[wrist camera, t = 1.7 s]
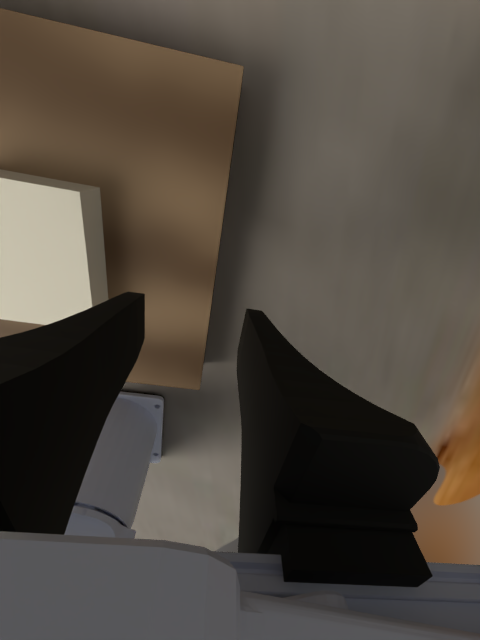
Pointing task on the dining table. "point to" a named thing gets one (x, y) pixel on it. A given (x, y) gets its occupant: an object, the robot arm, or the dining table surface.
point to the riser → (130, 166)
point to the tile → (49, 248)
